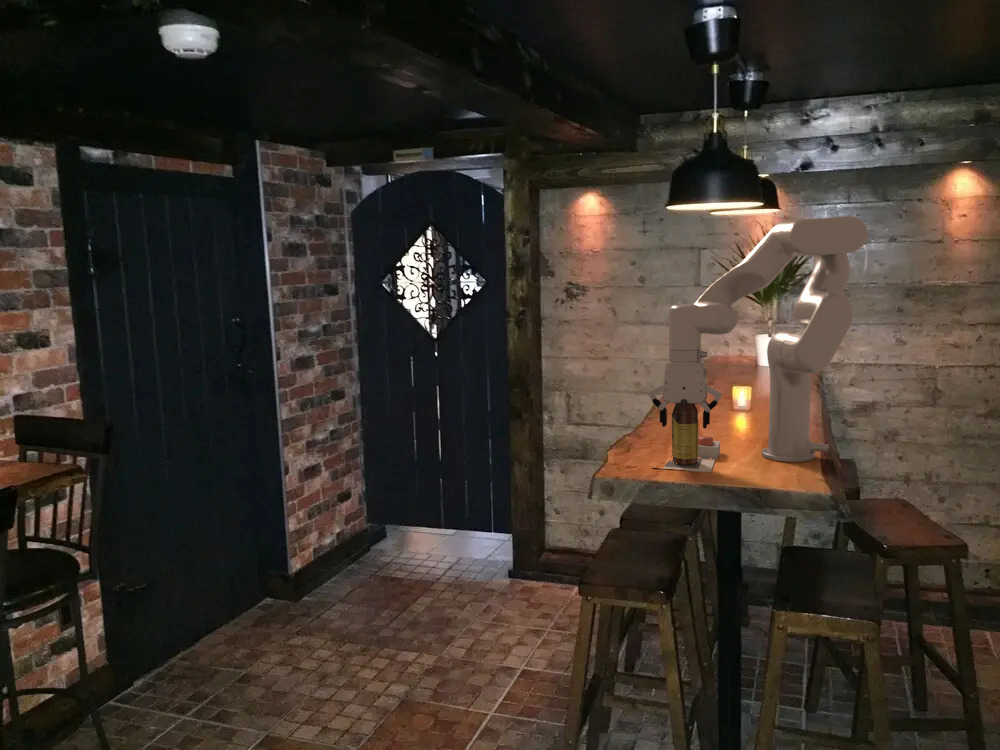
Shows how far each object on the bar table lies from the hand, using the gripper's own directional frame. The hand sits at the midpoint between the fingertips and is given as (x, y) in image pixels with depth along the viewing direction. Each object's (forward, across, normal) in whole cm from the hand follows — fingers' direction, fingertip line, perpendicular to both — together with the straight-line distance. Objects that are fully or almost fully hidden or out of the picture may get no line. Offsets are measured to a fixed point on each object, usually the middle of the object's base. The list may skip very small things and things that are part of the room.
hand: (684, 426), depth 200 cm
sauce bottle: (+9, 0, 0) cm, 9 cm away
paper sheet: (+9, 0, 0) cm, 9 cm away
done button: (+8, -4, -10) cm, 14 cm away
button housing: (+9, -4, -10) cm, 15 cm away
